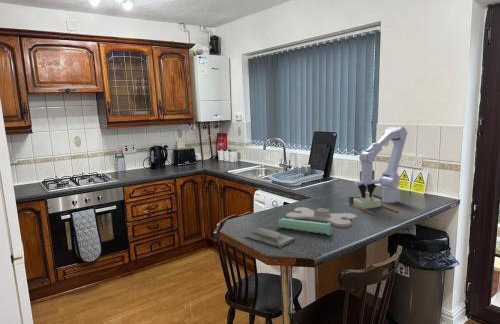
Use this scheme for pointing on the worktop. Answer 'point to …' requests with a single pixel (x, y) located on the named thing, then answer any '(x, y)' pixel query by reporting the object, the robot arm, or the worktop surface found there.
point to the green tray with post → (367, 202)
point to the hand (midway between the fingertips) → (366, 197)
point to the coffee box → (366, 185)
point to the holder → (322, 216)
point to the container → (306, 226)
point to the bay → (365, 209)
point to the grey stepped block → (272, 236)
